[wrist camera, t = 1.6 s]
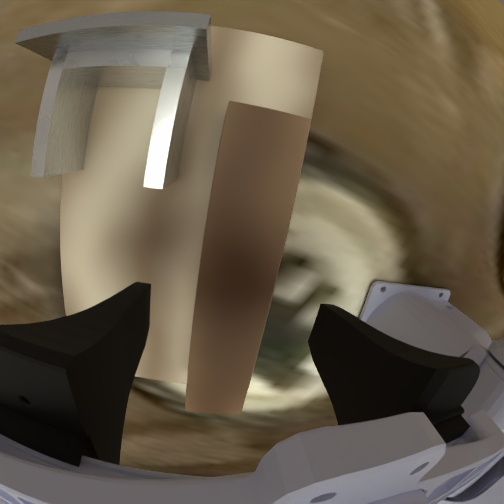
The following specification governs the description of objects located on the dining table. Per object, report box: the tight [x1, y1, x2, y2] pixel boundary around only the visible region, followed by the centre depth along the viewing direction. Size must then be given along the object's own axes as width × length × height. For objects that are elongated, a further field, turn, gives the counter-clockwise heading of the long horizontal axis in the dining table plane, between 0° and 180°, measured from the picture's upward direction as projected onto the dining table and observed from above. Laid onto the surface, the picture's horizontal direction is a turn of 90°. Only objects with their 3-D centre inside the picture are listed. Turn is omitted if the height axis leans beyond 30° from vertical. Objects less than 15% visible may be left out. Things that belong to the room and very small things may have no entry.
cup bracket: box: [15, 12, 212, 189], centre depth 10 cm, size 8×6×7 cm
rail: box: [185, 101, 311, 415], centre depth 15 cm, size 4×17×4 cm, turn 169°
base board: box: [60, 26, 324, 388], centre depth 16 cm, size 14×24×1 cm, turn 169°
